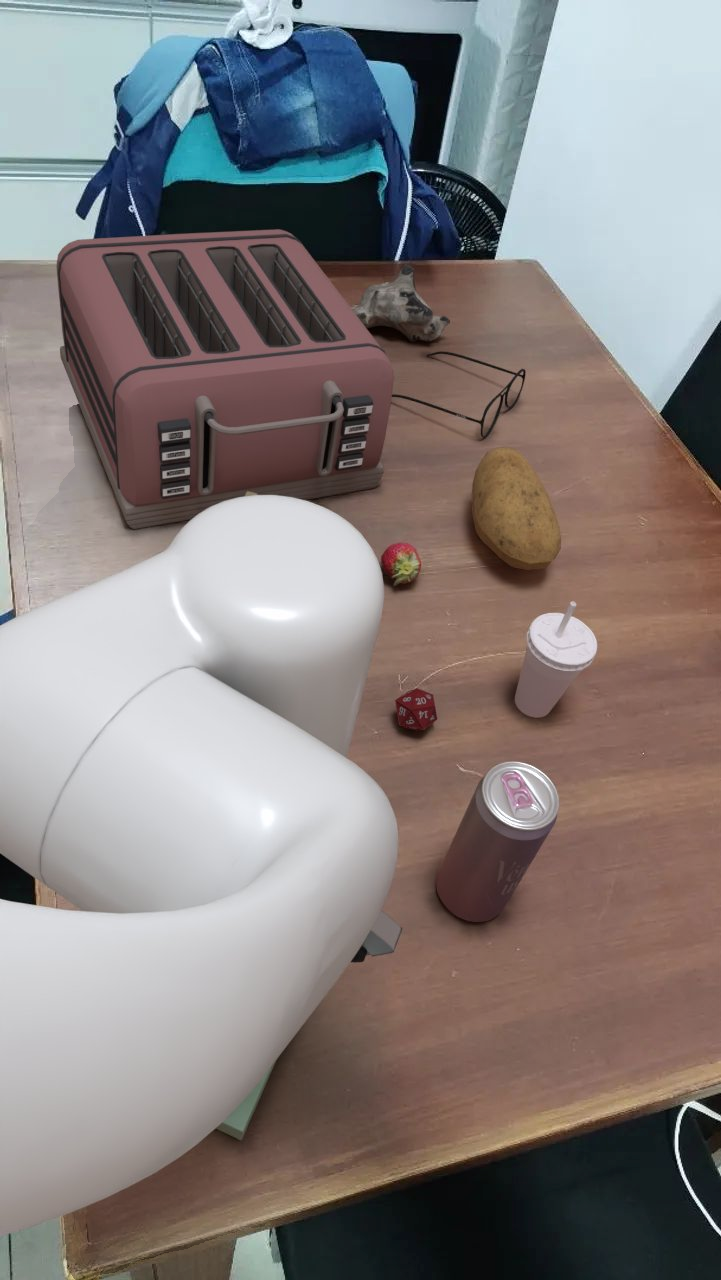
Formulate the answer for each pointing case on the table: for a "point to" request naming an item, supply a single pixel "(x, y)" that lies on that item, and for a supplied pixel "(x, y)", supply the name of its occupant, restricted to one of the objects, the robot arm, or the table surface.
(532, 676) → the smoothie
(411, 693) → the dice
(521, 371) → the glasses
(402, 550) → the fruit
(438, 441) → the table surface
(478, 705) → the table surface
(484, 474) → the potato
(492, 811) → the beverage can
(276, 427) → the toaster
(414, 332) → the decorative stone
